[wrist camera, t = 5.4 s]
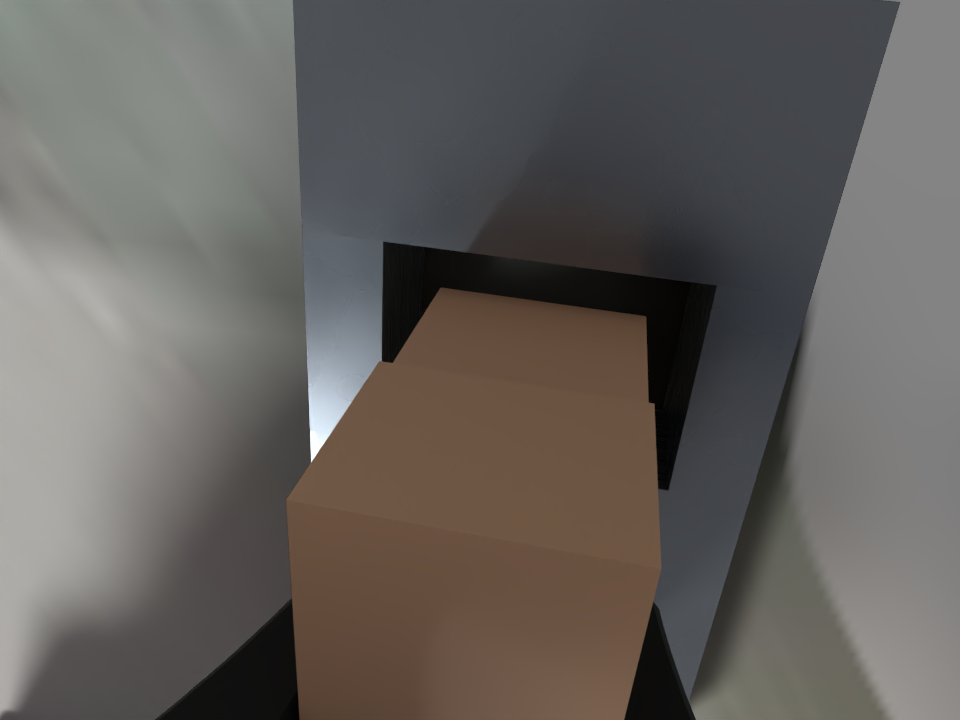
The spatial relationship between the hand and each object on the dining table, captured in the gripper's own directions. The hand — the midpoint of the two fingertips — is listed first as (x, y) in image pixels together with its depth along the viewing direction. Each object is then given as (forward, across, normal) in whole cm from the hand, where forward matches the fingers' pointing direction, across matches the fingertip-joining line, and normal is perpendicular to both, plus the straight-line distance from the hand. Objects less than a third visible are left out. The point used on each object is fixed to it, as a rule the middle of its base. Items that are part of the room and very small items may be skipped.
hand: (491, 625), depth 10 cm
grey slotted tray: (+5, 0, 0) cm, 5 cm away
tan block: (+3, 0, 0) cm, 3 cm away
